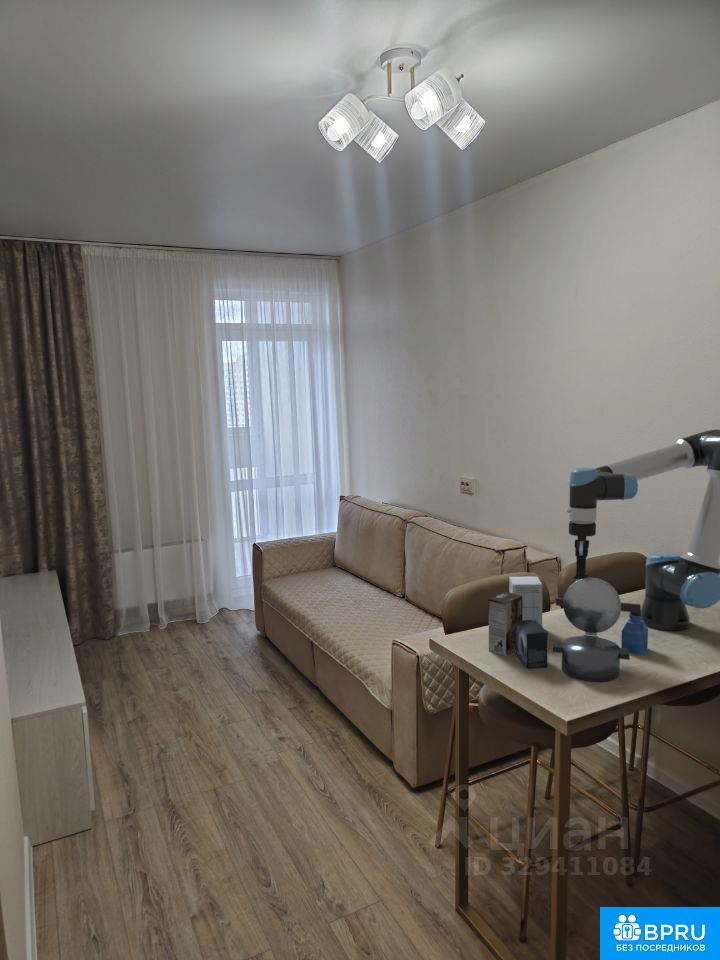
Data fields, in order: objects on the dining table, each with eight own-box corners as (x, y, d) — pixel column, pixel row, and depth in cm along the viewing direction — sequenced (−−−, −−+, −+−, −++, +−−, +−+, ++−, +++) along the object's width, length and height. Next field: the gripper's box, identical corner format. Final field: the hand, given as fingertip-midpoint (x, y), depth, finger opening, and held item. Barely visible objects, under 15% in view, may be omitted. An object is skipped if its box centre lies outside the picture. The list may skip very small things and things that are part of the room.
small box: (513, 654, 192) (513, 620, 191) (535, 653, 192) (535, 618, 191) (525, 669, 181) (525, 632, 180) (548, 668, 182) (549, 631, 181)
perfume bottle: (643, 655, 189) (645, 615, 187) (621, 651, 192) (622, 612, 191) (647, 648, 194) (648, 609, 193) (625, 644, 197) (626, 606, 196)
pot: (627, 662, 184) (628, 638, 184) (629, 686, 169) (630, 660, 168) (554, 654, 191) (555, 631, 190) (550, 677, 176) (551, 652, 175)
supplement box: (538, 626, 215) (538, 576, 213) (543, 636, 206) (543, 584, 204) (508, 625, 216) (508, 575, 214) (512, 636, 207) (512, 583, 204)
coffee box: (504, 642, 202) (504, 591, 200) (523, 647, 197) (523, 595, 195) (487, 650, 195) (487, 598, 193) (506, 656, 191) (506, 602, 189)
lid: (639, 640, 182) (639, 638, 184) (641, 581, 182) (640, 580, 184) (555, 631, 190) (555, 630, 192) (556, 575, 190) (556, 574, 192)
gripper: (570, 516, 199) (568, 592, 202) (567, 524, 187) (565, 605, 190) (596, 517, 196) (594, 594, 199) (595, 526, 184) (593, 607, 187)
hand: (580, 599), depth 194 cm, fingers closed
